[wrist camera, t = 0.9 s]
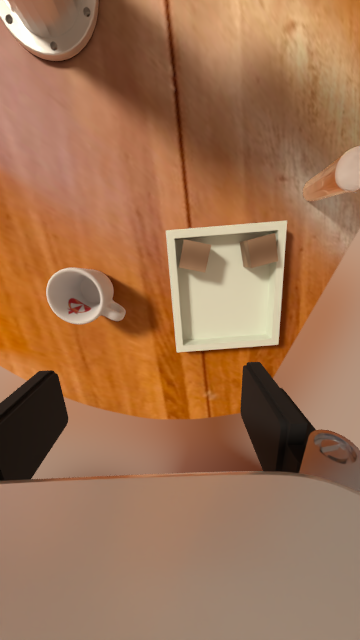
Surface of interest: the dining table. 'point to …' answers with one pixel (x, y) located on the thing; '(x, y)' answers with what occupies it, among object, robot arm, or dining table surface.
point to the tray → (226, 290)
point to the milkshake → (335, 177)
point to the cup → (82, 296)
